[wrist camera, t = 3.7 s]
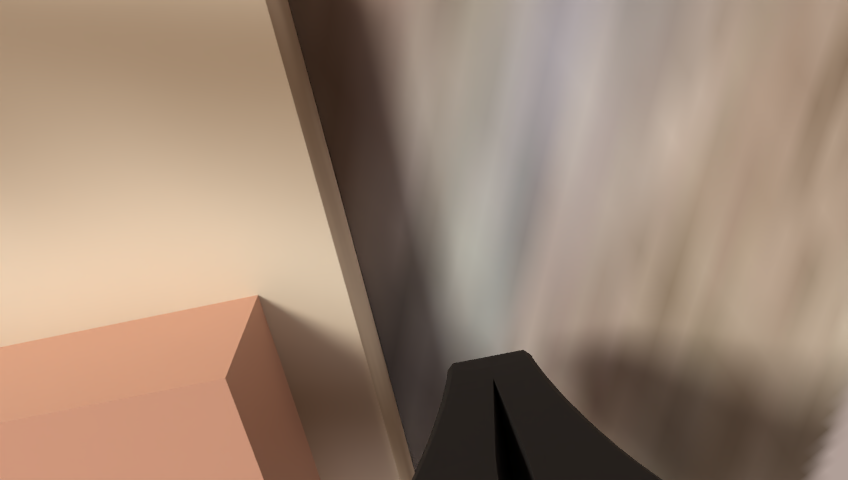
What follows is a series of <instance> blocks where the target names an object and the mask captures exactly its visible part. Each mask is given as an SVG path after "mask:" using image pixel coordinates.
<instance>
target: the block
mask: <svg viewBox="0 0 848 480" xmlns="http://www.w3.org/2000/svg"><path fill="white" fill-rule="evenodd" d="M0 480H320V477H319V474H318V471H317V468H316V465H315V462H314V459H313V456H312V453H311V450H310V447H309V444H308V441H307V438H306V435H305V432H304V429H303V426H302V423H301V420H300V418H299V415H298V412H297V409H296V406H295V403H294V400H293V397H292V394H291V391H290V388H289V385H288V382H287V379H286V376H285V373H284V370H283V367H282V364H281V361H280V358H279V356H278V353H277V350H276V347H275V344H274V341H273V338H272V335H271V332H270V329H269V326H268V323H267V320H266V317H265V314H264V311H263V308H262V305H261V302H260V299H259V296H258V295H255V296H250V297H245V298H240V299H235V300H230V301H225V302H221V303H216V304H211V305H206V306H201V307H196V308H191V309H186V310H181V311H176V312H171V313H166V314H161V315H157V316H152V317H147V318H142V319H137V320H132V321H127V322H122V323H117V324H112V325H107V326H102V327H97V328H92V329H88V330H83V331H78V332H73V333H68V334H63V335H58V336H53V337H48V338H43V339H38V340H33V341H28V342H24V343H19V344H14V345H9V346H4V347H0Z"/></svg>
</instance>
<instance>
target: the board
mask: <svg viewBox="0 0 848 480" xmlns="http://www.w3.org/2000/svg"><path fill="white" fill-rule="evenodd" d="M255 295H258V296H259V299H260V302H261V305H262V308H263V311H264V314H265V317H266V320H267V323H268V326H269V329H270V332H271V335H272V338H273V341H274V344H275V347H276V350H277V353H278V356H279V358H280V361H281V364H282V367H283V370H284V373H285V376H286V379H287V382H288V385H289V388H290V391H291V394H292V397H293V400H294V403H295V406H296V409H297V412H298V415H299V418H300V420H301V423H302V426H303V429H304V432H305V435H306V438H307V441H308V444H309V447H310V450H311V453H312V456H313V459H314V462H315V465H316V468H317V471H318V474H319V477H320V480H412V478H413V476H414V474H415V471H414V467H413V464H412V460H411V456H410V452H409V449H408V445H407V441H406V438H405V434H404V430H403V426H402V423H401V419H400V415H399V412H398V408H397V404H396V400H395V397H394V393H393V389H392V386H391V382H390V378H389V374H388V371H387V367H386V363H385V360H384V356H383V352H382V348H381V345H380V341H379V337H378V334H377V330H376V326H375V322H374V319H373V315H372V311H371V308H370V304H369V300H368V296H367V293H366V289H365V285H364V282H363V278H362V274H361V270H360V267H359V263H358V259H357V256H356V252H355V248H354V244H353V241H352V237H351V233H350V230H349V226H348V222H347V218H346V215H345V211H344V207H343V204H342V200H341V196H340V192H339V189H338V185H337V181H336V178H335V174H334V170H333V166H332V163H331V159H330V155H329V152H328V148H327V144H326V140H325V137H324V133H323V129H322V126H321V122H320V118H319V114H318V111H317V107H316V103H315V100H314V96H313V92H312V88H311V85H310V81H309V77H308V74H307V70H306V66H305V62H304V59H303V55H302V51H301V48H300V44H299V40H298V36H297V33H296V29H295V25H294V22H293V18H292V14H291V10H290V7H289V3H288V0H0V347H4V346H9V345H14V344H19V343H24V342H28V341H33V340H38V339H43V338H48V337H53V336H58V335H63V334H68V333H73V332H78V331H83V330H88V329H92V328H97V327H102V326H107V325H112V324H117V323H122V322H127V321H132V320H137V319H142V318H147V317H152V316H157V315H161V314H166V313H171V312H176V311H181V310H186V309H191V308H196V307H201V306H206V305H211V304H216V303H221V302H225V301H230V300H235V299H240V298H245V297H250V296H255Z"/></svg>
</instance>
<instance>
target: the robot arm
mask: <svg viewBox="0 0 848 480" xmlns="http://www.w3.org/2000/svg"><path fill="white" fill-rule="evenodd" d="M412 480H662V479H660V478H659V477H657V476H656V475H655V474H653V473H652V472H650V471H649V470H648V469H646V468H645V467H643V466H642V465H641V464H639V463H638V462H637V461H635V460H634V459H633V458H632V457H630V456H629V455H628V454H626V453H625V452H624V451H623V450H622V449H620V448H619V447H618V446H617V445H615V444H614V443H613V442H612V441H611V440H610V439H608V438H607V437H606V436H605V435H604V434H603V433H601V432H600V431H599V430H598V429H597V428H596V427H595V426H594V425H593V424H592V423H591V422H589V421H588V420H587V419H586V418H585V417H584V416H583V415H582V414H581V413H580V412H579V411H578V410H577V409H576V408H575V407H574V406H573V405H572V404H571V403H570V402H569V401H568V400H567V399H566V398H565V397H564V396H563V395H562V393H561V392H560V391H559V390H558V389H557V388H556V387H555V386H554V385H553V383H552V382H551V381H550V380H549V379H548V378H547V376H546V375H545V374H544V373H543V371H542V370H541V369H540V368H539V366H538V365H537V363H536V362H535V361H534V359H533V358H532V356H531V355H530V354H529V353H527V352H526V351H524V350H521V351H515V352H510V353H505V354H500V355H495V356H490V357H485V358H479V359H474V360H469V361H464V362H459V363H454V364H452V366H451V367H450V368H449V370H448V373H447V381H446V386H445V391H444V395H443V399H442V402H441V406H440V409H439V412H438V416H437V418H436V421H435V424H434V427H433V430H432V433H431V435H430V438H429V441H428V444H427V446H426V449H425V451H424V453H423V456H422V458H421V460H420V462H419V465H418V467H417V469H416V471H415V474H414V476H413V478H412Z"/></svg>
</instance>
